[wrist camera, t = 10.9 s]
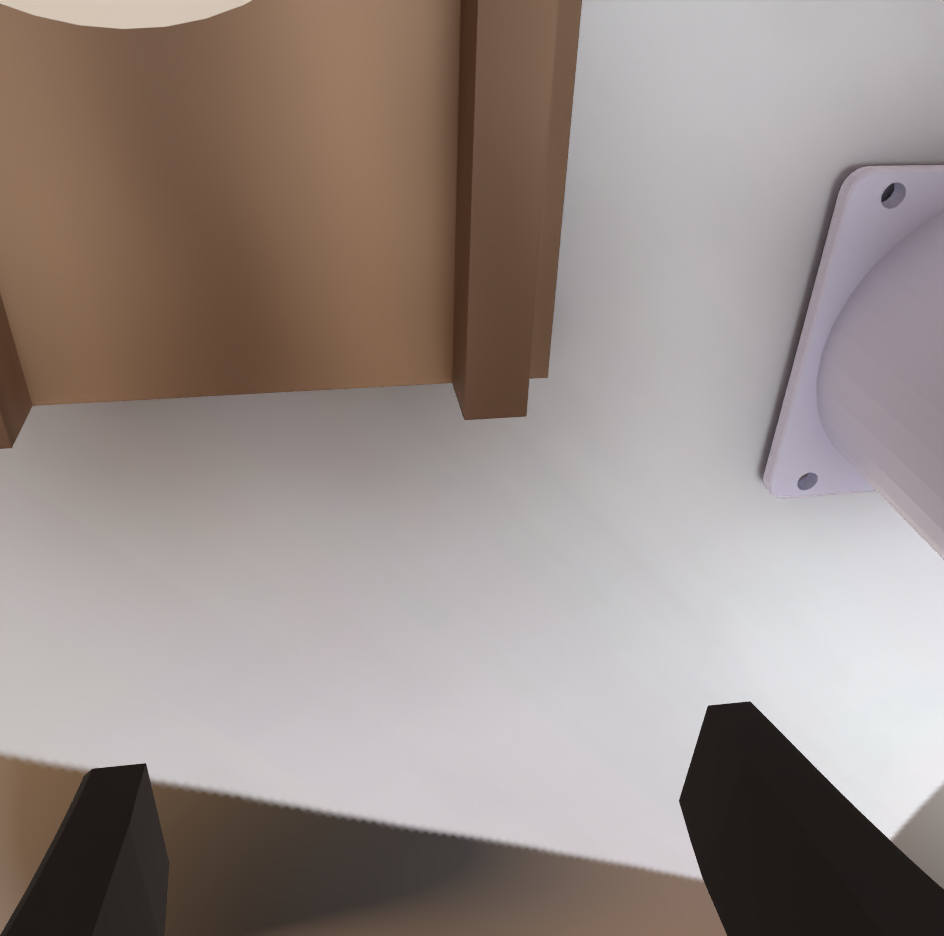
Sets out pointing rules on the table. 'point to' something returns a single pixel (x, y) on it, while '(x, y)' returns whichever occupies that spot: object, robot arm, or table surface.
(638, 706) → the table surface
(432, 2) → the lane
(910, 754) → the table surface
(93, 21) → the jar
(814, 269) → the table surface
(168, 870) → the robot arm
